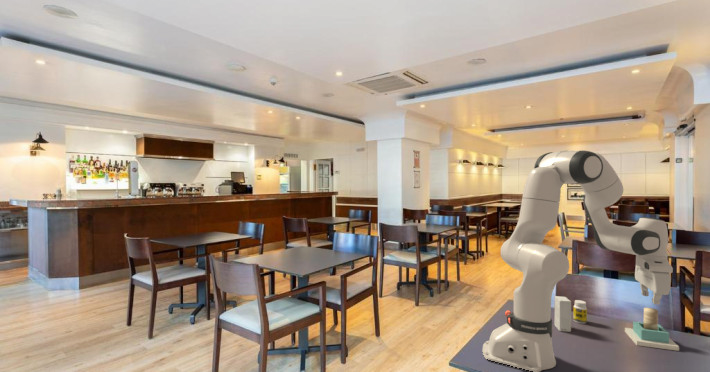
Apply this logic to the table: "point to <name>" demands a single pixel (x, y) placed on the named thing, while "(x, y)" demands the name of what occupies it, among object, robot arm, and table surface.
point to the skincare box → (563, 313)
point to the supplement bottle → (580, 312)
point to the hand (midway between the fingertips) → (650, 299)
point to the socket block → (651, 337)
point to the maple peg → (650, 319)
